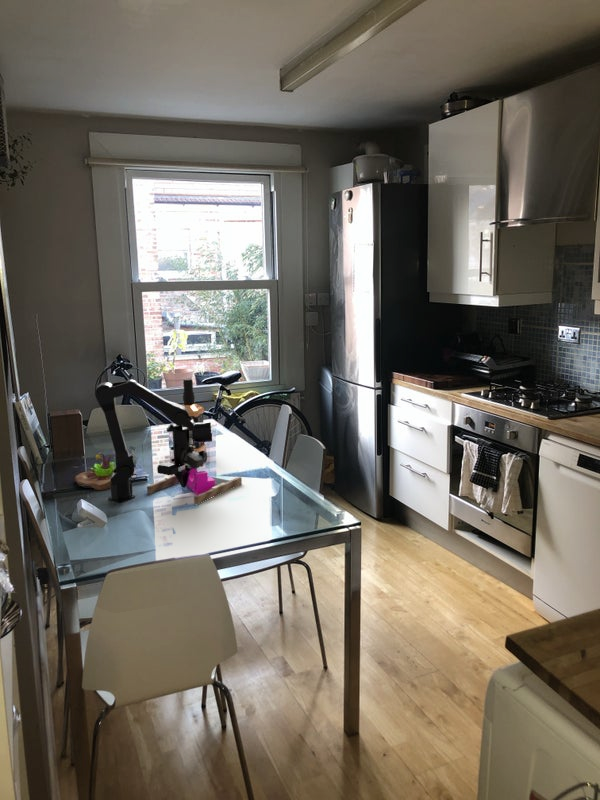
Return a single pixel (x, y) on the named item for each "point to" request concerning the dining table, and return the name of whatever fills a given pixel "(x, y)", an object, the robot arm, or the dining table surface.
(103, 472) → the plant
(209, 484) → the toy block
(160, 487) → the lane rails
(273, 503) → the dining table surface
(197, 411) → the whiskey bottle
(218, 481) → the trap mat
